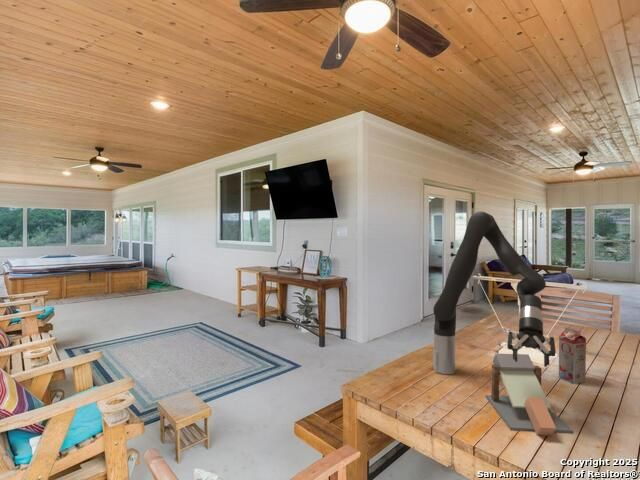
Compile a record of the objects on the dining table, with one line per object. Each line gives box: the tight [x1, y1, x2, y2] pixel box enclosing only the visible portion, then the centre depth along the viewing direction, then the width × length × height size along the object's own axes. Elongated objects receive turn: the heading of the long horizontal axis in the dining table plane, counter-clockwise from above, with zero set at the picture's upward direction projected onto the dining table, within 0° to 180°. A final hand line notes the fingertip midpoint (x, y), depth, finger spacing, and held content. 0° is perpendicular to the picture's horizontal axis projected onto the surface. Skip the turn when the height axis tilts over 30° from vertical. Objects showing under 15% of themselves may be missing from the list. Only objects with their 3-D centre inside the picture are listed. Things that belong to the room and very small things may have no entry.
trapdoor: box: [492, 353, 552, 410], centre depth 125 cm, size 20×12×5 cm
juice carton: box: [558, 326, 587, 384], centre depth 148 cm, size 7×7×22 cm
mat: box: [484, 394, 574, 434], centre depth 122 cm, size 19×22×1 cm
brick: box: [524, 397, 556, 436], centre depth 112 cm, size 4×4×10 cm
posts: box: [490, 363, 543, 402], centre depth 129 cm, size 17×2×14 cm, turn 84°
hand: (530, 363), depth 117 cm, fingers open, 8 cm apart
